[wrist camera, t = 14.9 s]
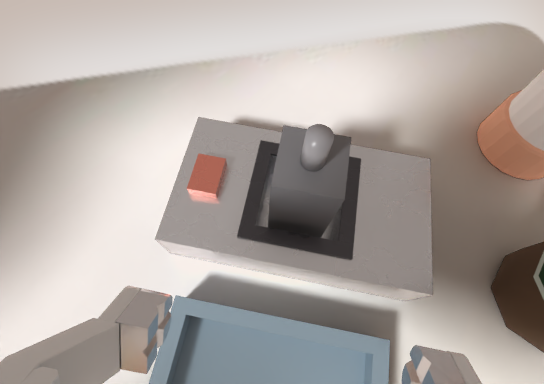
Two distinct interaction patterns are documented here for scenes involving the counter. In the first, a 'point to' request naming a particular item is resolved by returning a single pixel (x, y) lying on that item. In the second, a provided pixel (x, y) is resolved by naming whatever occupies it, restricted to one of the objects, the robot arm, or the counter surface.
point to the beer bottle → (522, 293)
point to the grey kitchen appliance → (293, 246)
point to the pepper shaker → (517, 133)
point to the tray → (263, 350)
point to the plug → (308, 179)
